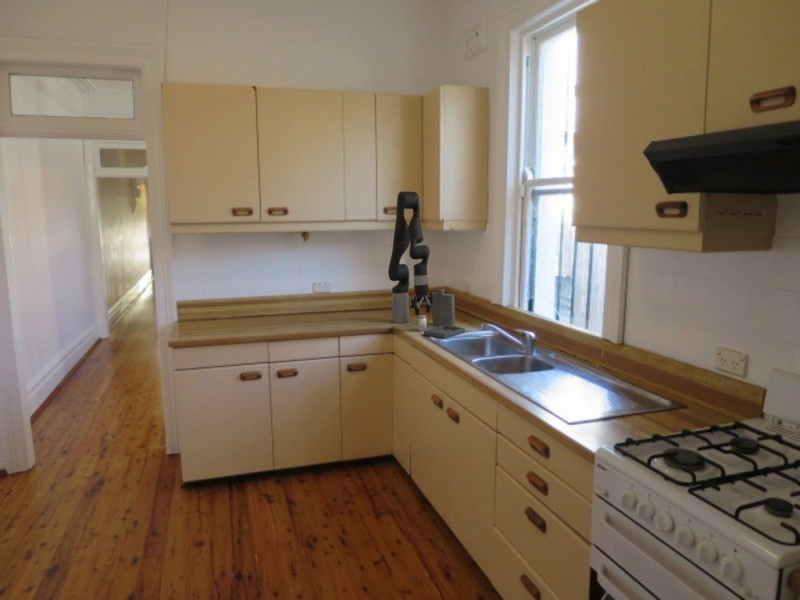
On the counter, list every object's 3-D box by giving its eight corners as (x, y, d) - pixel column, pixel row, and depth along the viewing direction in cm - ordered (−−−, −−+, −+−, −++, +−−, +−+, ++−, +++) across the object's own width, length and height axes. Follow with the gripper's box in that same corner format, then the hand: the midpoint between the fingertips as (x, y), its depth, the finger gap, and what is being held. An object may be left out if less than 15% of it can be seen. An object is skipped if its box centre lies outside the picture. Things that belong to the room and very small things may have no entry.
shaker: (416, 330, 303) (415, 316, 302) (422, 329, 307) (421, 314, 305) (423, 331, 300) (422, 317, 299) (428, 330, 303) (428, 315, 302)
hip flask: (456, 326, 309) (455, 290, 306) (451, 327, 307) (450, 291, 303) (435, 322, 321) (434, 287, 318) (430, 324, 319) (429, 288, 315)
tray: (423, 335, 292) (423, 330, 292) (443, 329, 303) (443, 324, 303) (445, 338, 282) (444, 333, 282) (464, 332, 294) (464, 327, 293)
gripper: (424, 281, 307) (426, 311, 309) (406, 285, 297) (408, 315, 299) (435, 282, 302) (436, 312, 304) (417, 285, 292) (419, 316, 294)
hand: (422, 313), depth 302 cm, fingers open, 8 cm apart
